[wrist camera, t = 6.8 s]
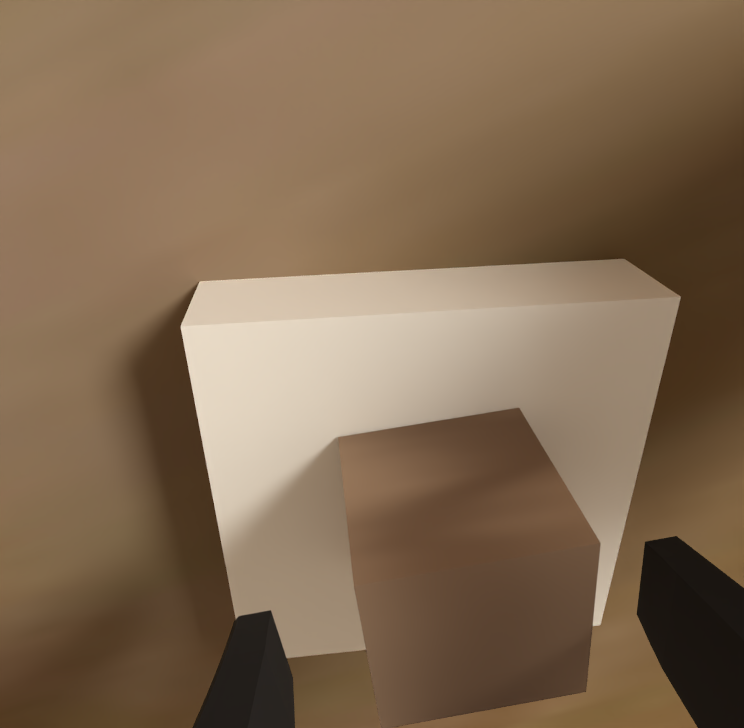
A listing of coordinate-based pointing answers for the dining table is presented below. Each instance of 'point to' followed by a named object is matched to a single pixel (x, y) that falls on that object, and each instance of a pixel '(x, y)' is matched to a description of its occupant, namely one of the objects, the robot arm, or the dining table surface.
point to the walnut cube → (467, 567)
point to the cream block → (408, 404)
